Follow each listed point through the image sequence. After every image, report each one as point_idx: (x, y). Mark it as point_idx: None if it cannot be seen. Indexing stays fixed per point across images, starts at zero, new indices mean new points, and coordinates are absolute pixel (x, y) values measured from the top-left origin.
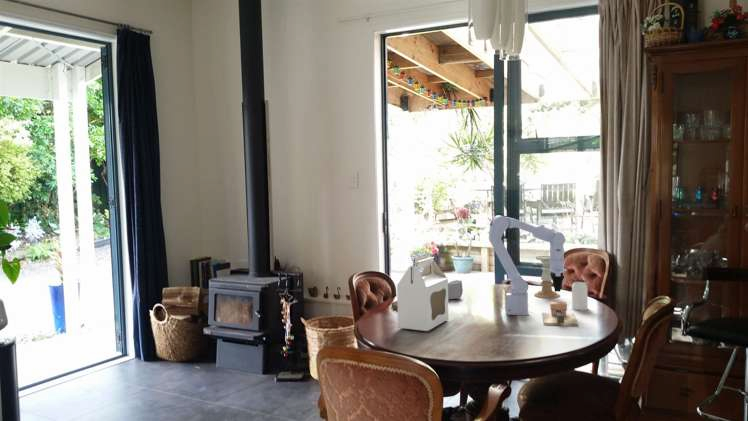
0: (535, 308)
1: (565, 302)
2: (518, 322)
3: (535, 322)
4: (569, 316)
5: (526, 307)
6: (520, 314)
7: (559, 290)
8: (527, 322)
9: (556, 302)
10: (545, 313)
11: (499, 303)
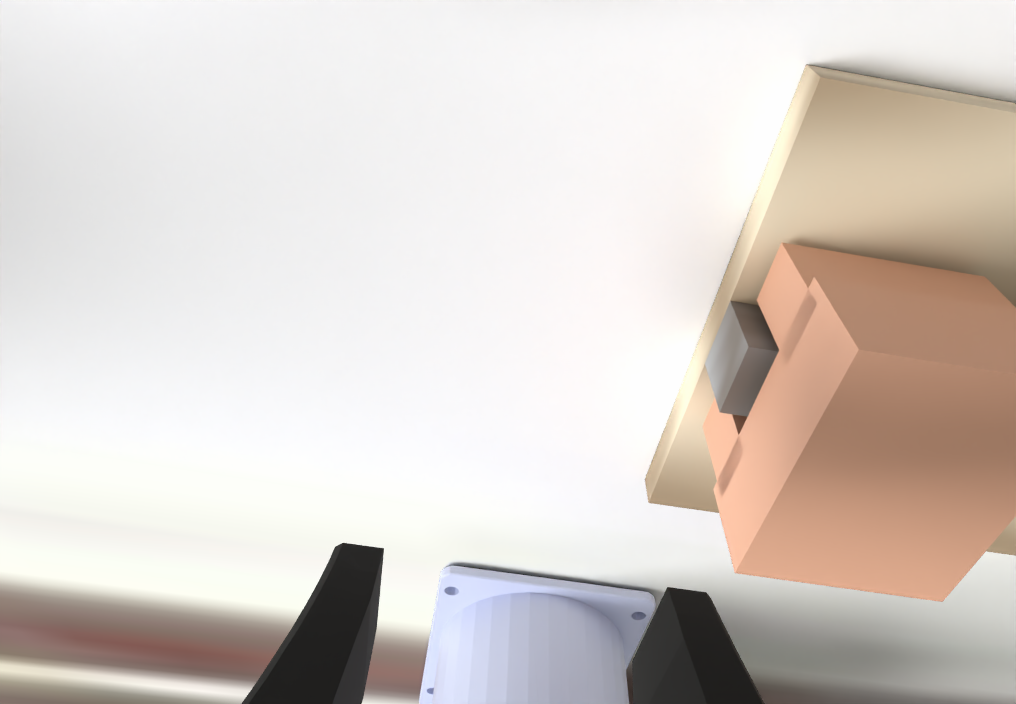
0: (246, 476)
1: (909, 370)
2: (936, 693)
3: (1001, 593)
4: (1012, 222)
5: (602, 675)
6: (633, 651)
7: (716, 629)
8: (968, 643)
9: (851, 510)
10: (707, 480)
11: (73, 697)
